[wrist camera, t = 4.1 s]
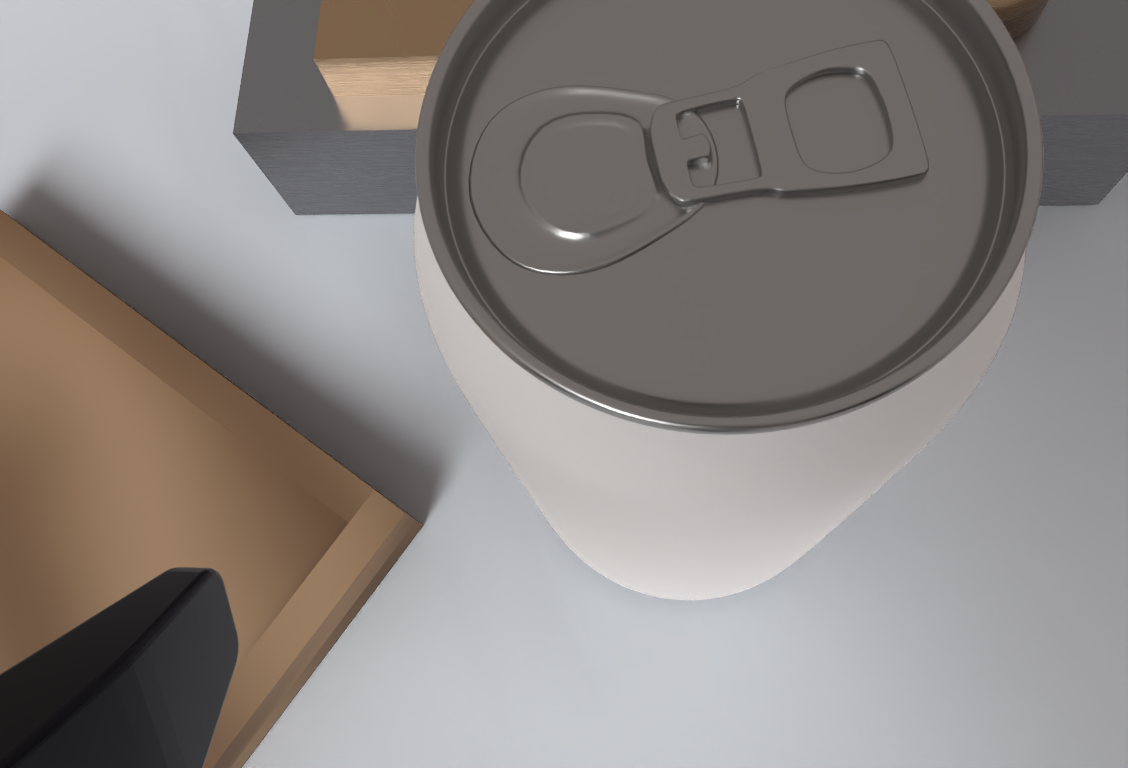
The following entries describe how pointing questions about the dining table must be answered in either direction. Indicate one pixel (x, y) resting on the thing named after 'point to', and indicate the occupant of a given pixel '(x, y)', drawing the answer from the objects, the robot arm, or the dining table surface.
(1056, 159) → the iron block
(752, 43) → the can
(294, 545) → the walnut tray
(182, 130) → the dining table surface
